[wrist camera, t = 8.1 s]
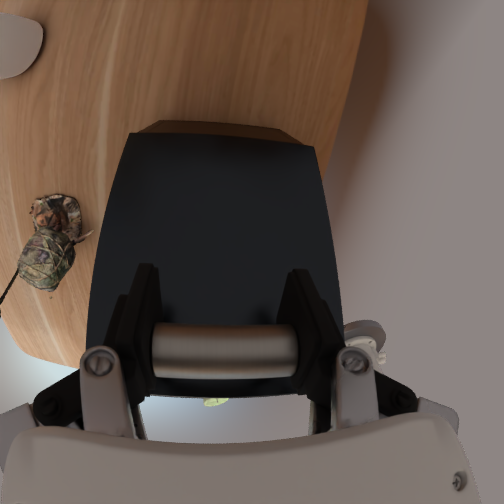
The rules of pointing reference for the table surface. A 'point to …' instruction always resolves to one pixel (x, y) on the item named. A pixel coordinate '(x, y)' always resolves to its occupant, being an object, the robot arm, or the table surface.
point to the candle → (214, 401)
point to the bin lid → (215, 257)
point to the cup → (18, 44)
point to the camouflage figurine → (50, 243)
